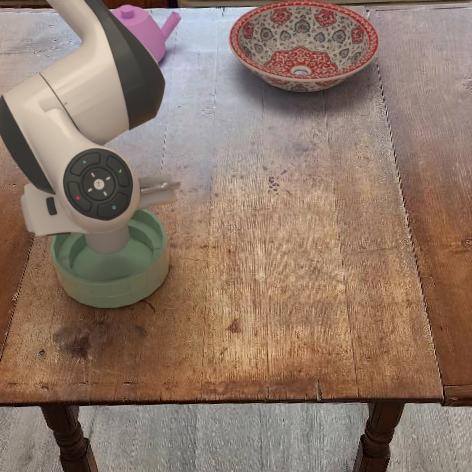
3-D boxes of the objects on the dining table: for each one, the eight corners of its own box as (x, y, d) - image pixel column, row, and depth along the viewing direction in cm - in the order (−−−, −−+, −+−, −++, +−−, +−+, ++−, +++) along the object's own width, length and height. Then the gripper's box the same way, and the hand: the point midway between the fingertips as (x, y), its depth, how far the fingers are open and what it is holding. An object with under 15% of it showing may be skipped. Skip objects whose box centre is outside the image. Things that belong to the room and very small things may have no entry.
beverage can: (109, 264, 98) (95, 201, 89) (78, 245, 101) (61, 181, 91) (139, 239, 102) (128, 175, 92) (108, 221, 104) (94, 157, 94)
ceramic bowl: (368, 125, 128) (375, 87, 121) (216, 109, 131) (215, 71, 124) (376, 42, 145) (383, 5, 138) (242, 30, 148) (242, -6, 142)
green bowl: (49, 310, 101) (40, 283, 96) (69, 229, 111) (61, 201, 106) (164, 312, 101) (161, 285, 96) (173, 230, 111) (170, 202, 106)
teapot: (192, 66, 140) (189, 15, 131) (96, 83, 136) (86, 33, 128) (174, 32, 148) (170, -18, 139) (84, 48, 144) (74, -2, 136)
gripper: (177, 156, 84) (167, 170, 98) (10, 187, 81) (23, 197, 94) (188, 207, 85) (176, 214, 98) (23, 239, 82) (34, 242, 95)
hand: (100, 206), depth 96 cm, fingers closed on beverage can, 6 cm apart
